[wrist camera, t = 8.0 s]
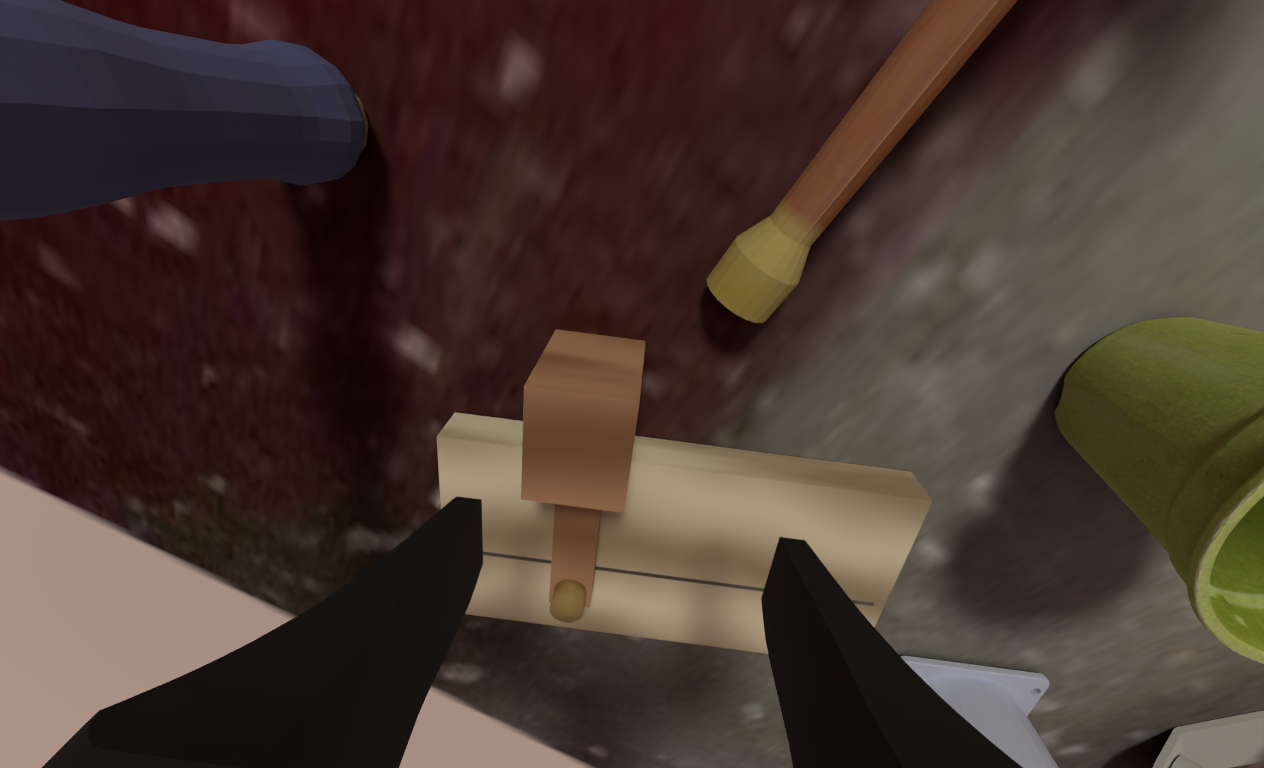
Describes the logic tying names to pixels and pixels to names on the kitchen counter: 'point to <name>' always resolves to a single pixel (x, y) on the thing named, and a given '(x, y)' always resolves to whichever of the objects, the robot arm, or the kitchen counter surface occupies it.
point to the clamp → (1215, 743)
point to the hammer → (851, 155)
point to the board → (683, 534)
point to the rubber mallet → (157, 111)
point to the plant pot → (1184, 455)
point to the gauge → (580, 450)
